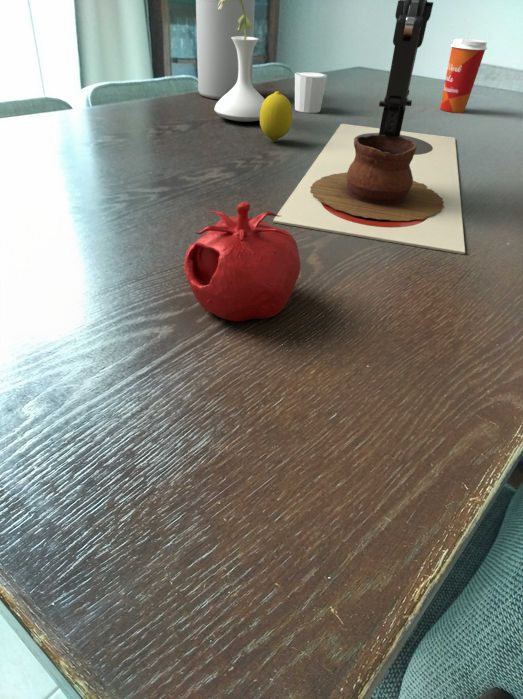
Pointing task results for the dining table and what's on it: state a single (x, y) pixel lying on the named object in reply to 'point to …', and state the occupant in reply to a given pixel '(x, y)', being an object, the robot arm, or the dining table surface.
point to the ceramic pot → (379, 183)
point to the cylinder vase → (220, 44)
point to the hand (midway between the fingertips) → (384, 158)
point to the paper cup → (461, 73)
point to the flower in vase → (241, 80)
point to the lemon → (275, 116)
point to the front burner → (371, 219)
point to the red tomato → (243, 267)
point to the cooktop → (426, 166)
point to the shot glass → (309, 91)
